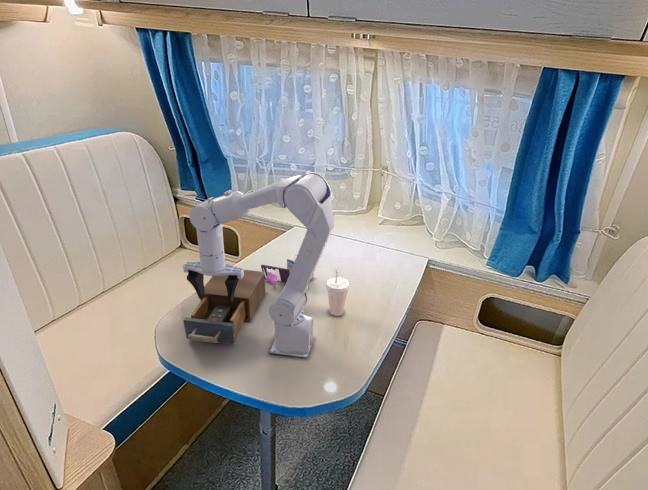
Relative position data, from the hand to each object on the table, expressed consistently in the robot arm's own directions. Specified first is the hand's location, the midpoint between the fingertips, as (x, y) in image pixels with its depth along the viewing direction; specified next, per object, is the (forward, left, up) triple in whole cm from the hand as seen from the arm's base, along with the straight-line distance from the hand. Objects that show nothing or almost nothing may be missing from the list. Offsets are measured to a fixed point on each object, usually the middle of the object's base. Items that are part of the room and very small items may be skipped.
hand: (216, 298), depth 108 cm
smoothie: (-29, -14, -9) cm, 34 cm away
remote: (0, 0, -8) cm, 8 cm away
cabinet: (0, -12, -10) cm, 15 cm away
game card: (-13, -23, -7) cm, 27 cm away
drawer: (0, +2, -9) cm, 9 cm away
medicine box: (-16, -29, -10) cm, 34 cm away
